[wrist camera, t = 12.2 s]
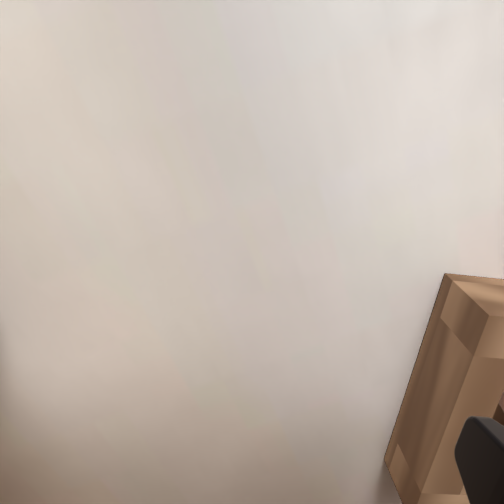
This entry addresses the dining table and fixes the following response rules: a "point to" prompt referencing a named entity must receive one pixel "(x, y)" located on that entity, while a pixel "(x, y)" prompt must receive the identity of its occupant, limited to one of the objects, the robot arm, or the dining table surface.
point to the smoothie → (502, 401)
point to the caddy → (449, 389)
